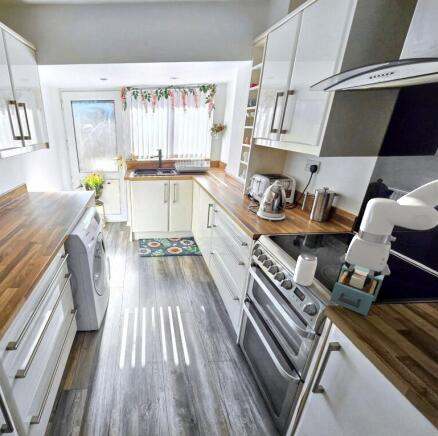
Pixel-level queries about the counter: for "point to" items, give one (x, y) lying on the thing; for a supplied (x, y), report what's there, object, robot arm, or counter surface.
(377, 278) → the cabinet
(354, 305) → the drawer
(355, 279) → the bundle
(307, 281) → the can
